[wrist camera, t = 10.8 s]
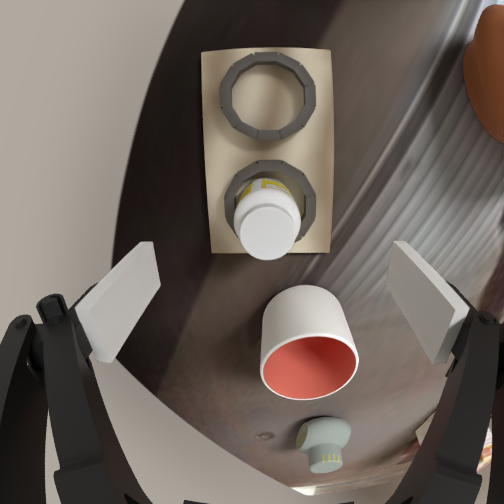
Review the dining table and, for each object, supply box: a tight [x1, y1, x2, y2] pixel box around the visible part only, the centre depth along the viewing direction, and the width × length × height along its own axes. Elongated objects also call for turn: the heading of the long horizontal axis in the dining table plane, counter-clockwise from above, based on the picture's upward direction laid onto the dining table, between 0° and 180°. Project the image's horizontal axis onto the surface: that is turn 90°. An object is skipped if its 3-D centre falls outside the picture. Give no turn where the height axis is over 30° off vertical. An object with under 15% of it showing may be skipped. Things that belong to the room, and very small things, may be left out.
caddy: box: [201, 48, 334, 253], centre depth 26 cm, size 13×22×2 cm, turn 2°
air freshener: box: [296, 417, 351, 473], centre depth 41 cm, size 11×8×10 cm
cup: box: [260, 285, 359, 400], centre depth 30 cm, size 10×10×10 cm
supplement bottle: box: [234, 178, 301, 260], centre depth 24 cm, size 5×5×10 cm
